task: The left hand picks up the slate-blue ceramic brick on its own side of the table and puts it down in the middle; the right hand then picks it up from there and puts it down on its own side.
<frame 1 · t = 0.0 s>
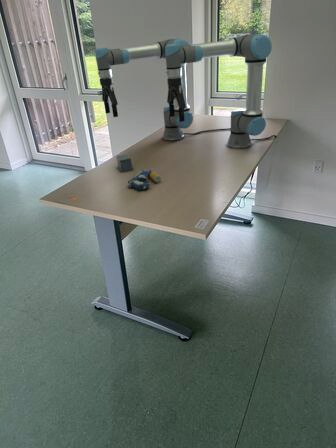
left hand: (111, 114, 206), 28 cm above the table, tool pointing down, fingers open, 13 cm apart
right hand: (177, 118, 185), 28 cm above the table, tool pointing down, fingers open, 13 cm apart
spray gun: (146, 183, 183), on the table
brick: (125, 168, 203), on the table
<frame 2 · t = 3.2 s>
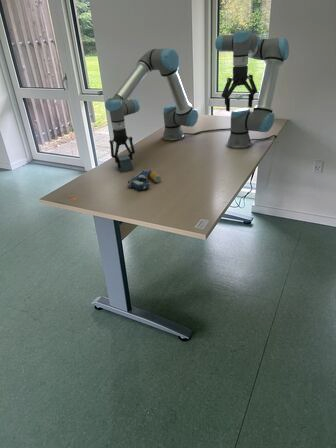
left hand: (124, 166, 203), 1 cm above the table, tool pointing down, fingers closed on brick, 7 cm apart
right hand: (239, 109, 180), 31 cm above the table, tool pointing down, fingers open, 13 cm apart
brick: (125, 168, 203), on the table, touching left hand
everything else where it was.
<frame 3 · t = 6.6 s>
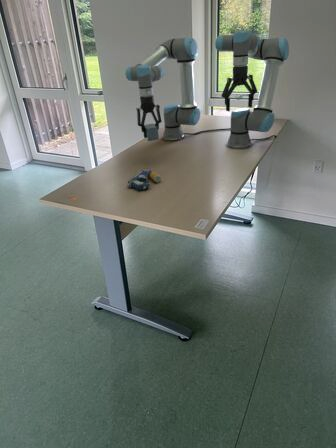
left hand: (151, 136, 199), 17 cm above the table, tool pointing down, fingers closed on brick, 7 cm apart
right hand: (239, 109, 180), 31 cm above the table, tool pointing down, fingers open, 13 cm apart
brick: (151, 138, 200), point 15 cm above the table, touching left hand
everything else where it was.
when the left hand's fingers open (3 cm above the table, at t = 10.3 s): brick drops 2 cm, on the table.
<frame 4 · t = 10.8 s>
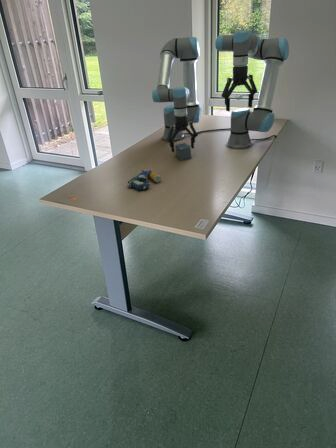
left hand: (182, 149, 210), 5 cm above the table, tool pointing down, fingers open, 13 cm apart
right hand: (239, 109, 180), 31 cm above the table, tool pointing down, fingers open, 13 cm apart
brick: (183, 157, 213), on the table
everything else where it was.
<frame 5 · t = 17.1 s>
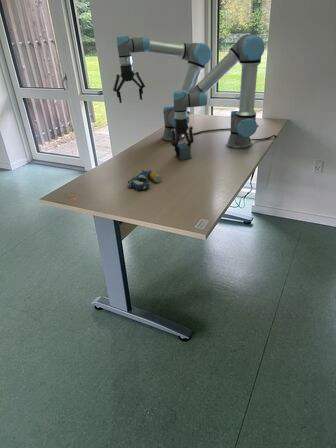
left hand: (130, 101, 214), 33 cm above the table, tool pointing down, fingers open, 13 cm apart
right hand: (183, 155, 212), 1 cm above the table, tool pointing down, fingers closed on brick, 7 cm apart
brick: (183, 157, 213), on the table, touching right hand
everything else where it was.
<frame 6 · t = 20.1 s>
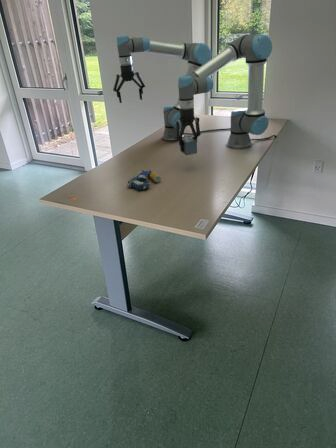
left hand: (130, 101, 214), 33 cm above the table, tool pointing down, fingers open, 13 cm apart
right hand: (188, 149, 189), 12 cm above the table, tool pointing down, fingers closed on brick, 7 cm apart
brick: (188, 152, 190), point 10 cm above the table, touching right hand
everything else where it was.
when the right hand's fingers open (3 cm above the table, at t = 23.1 s): brick drops 2 cm, on the table.
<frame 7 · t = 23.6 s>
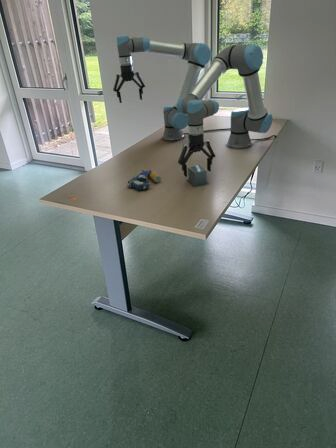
left hand: (130, 101, 214), 33 cm above the table, tool pointing down, fingers open, 13 cm apart
right hand: (197, 173, 176), 5 cm above the table, tool pointing down, fingers open, 13 cm apart
brick: (197, 181, 179), on the table
everything else where it was.
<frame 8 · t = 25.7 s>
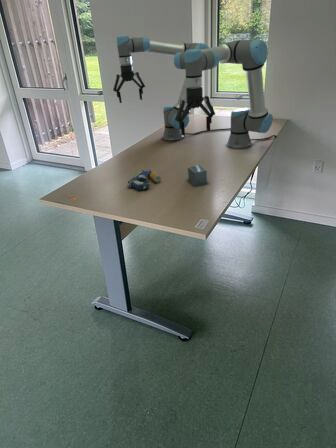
left hand: (130, 101, 214), 33 cm above the table, tool pointing down, fingers open, 13 cm apart
right hand: (195, 132, 165), 26 cm above the table, tool pointing down, fingers open, 13 cm apart
nothing on the table moved.
at the end: brick inside the target area (0.1 cm from its centre), on the table; brick tilted 0°; the two hands never held the brick at the same time; the left hand is holding nothing; the right hand is holding nothing; brick at rest at the end (0.0 cm/s) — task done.
